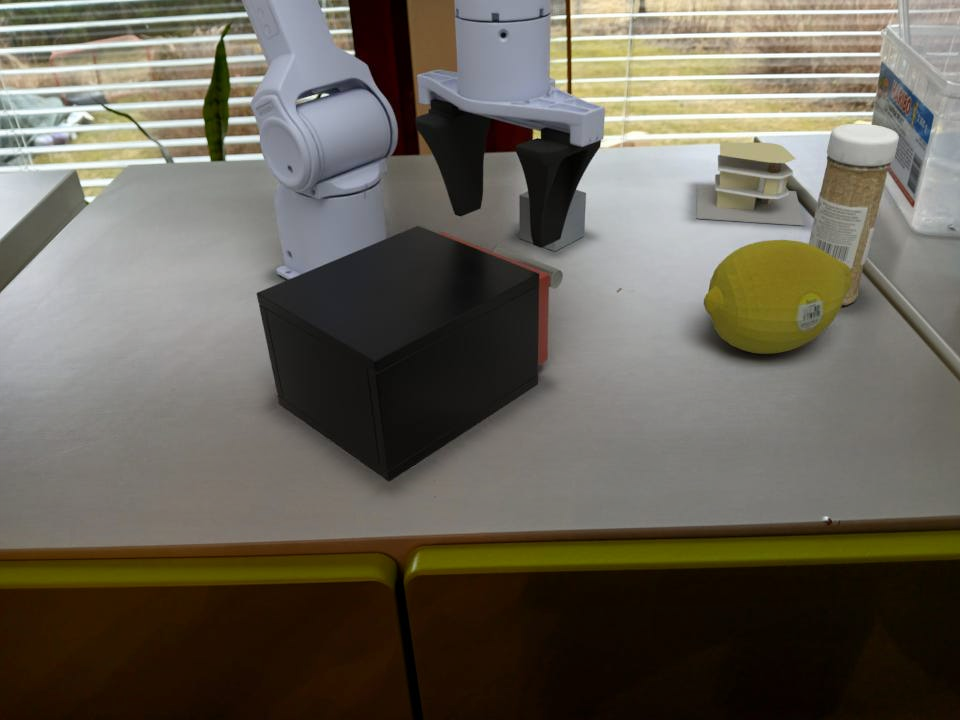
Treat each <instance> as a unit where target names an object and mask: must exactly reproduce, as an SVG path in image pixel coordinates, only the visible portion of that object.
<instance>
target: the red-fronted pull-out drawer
mask: <svg viewBox="0 0 960 720" xmlns="http://www.w3.org/2000/svg"><path fill="white" fill-rule="evenodd" d="M437 233H438V234H441V235H443V236H446V237H448V238H451V239H453V240H456V241H458V242H461V243H463V244H466V245H468V246H471V247H473V248H476V249H479V250H481V251H484V252H486V253H489V254H491V255H494V256H496V257H499V258H501V259H504V260H506V261H509V262H511V263H514V264H516V265H519V266H521V267H524V268H527V269H529V270H532V271H534V272H537V273H539V274H540V280H539V343H538V366H539V365H542V364H543V363H545V362H546V361H547V360H548V351H549V350H548V349H549V348H548V347H549V310H550V309H549V304H550V288H551V289H557V288H558V287H559V286H560V285H561V283H562V281H563V277H564V275H563V271H562V270H561V269H559V268H556V267H553V266H552V265H551V266H550V265H547V264H545V263H543V262H540V261H537V260H535V259H532V258H530V257H528V256H524V255H522V254H519V253H517V252H514V251H511V250H509V249H506V248H505V247H501V246H496V247H494V248H493V249H492V251H491V250H489V249H486V248H483V247H481V246H478V245H476V244H474V243H471V242H469V241H466V240H463V239H461V238H458V237H456V236H453V235H451V234H447V233H445V232H443V231H440V232H437Z"/></svg>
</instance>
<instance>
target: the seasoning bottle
mask: <svg viewBox="0 0 960 720" xmlns="http://www.w3.org/2000/svg"><path fill="white" fill-rule="evenodd" d="M899 140H900V137H899V134H898V133H897V132H896V131H895V130H894V129H891V128H888V127H885V126H881V125H876V124H870V123H847V124H845V123H844V124H841V125H837V126H836V127H834V128H833V129H832V130H831V132H830V136H829V139H828V145H827V149H826V154H827V155H826V166H825V170H824V174H823V179H822V184H821V188H820V192H819V194H818V199H817V203H816V208H815V213H814V217H813V222H812V226H811V231H810V235H809V240H808V244H810V245H813V246H815V247H817V248H819V249H821V250H823V251H824V252H826V253H828V254H829V255H831V256H832V257H834V258H835V259H837V260H839V261H841V262H843V263H845V264H846V265H847V266H848V267H849V268H850V271H851V278H852V281H851V287H850V289H849V291H848V292H847V294H846V295H845V297H844V299H843V302H842V306H849V305H850V304H853V303H854V302H855V301H856V299H858V296H859V286H860V282H861V277H862V275H863V271H864V267H865V264H866V262H867V259H868V255H869V252H870V247H871V245H872V239H873V235H874V232H875V224H876V221H877V216H878V212H879V209H880V203H881V200H882V196H883V192H884V189H885V184H886V180H887V174H888V173H889V169H890V167H891V165H892V162H893V161H894V159H895V157H896V153H897V148H898V145H899Z"/></svg>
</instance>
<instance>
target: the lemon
mask: <svg viewBox="0 0 960 720" xmlns="http://www.w3.org/2000/svg"><path fill="white" fill-rule="evenodd" d="M851 281H852V278H851V271H850V268H849V267H848V266H847V265H846V264H845V263H843V262H841V261H839V260H837V259H835V258H834V257H832V256H831V255H829V254H828V253H826V252H824V251H823V250H821V249H819V248H817V247H815V246H813V245H810V244H809V243H806V242H802V241H797V240H792V239H791V240H790V239H789V240H788V239H771V240H770V239H769V240H762V241H756V242H754V243H749V244H747V245H744V246H741V247H739V248H738V249H736V250H734V251H732V252H731V253H730V254H728V255H727V256H726V257H725V258H724V259H723V260H722V261H721V262H720V263H719V264H718V265H717V267H715V269H714V271H713V274H712V277H711V278H710V280H709V286H708V292H707V293H706V294H705V296H704V298H703V307H704V309H705V311H706V313H707V314H708V315H709V317H710V319H711V320H710V321H711V322H712V325H713V327H714V330H715V331H716V333H717V334H718V336H719V337H720V338H721V339H722V340H723V341H725V342H726V343H728V344H729V345H730V346H732V347H735V348H737V349H739V350H742V351H745V352H748V353H752V354H761V355H762V354H763V355H766V354H767V355H768V354H769V355H770V354H778V353H785V352H788V351H793V350H795V349H798V348H799V347H800V348H801V347H802V346H805V345H806V344H808V343H810V342H811V341H812V340H814V339H815V338H817V337H818V336H819V335H820V334H822V333H823V332H824V331H825V330H826V329H827V328H828V327H829V326H830V325H831V323H832V322H833V321H834V320H835V318H836V317H837V315H838V314H839V312H840V311H841V309H842V307H843V305H842V302H843V299H844V297H845V295H846V294H847V292H848V291H849V289H850V287H851Z"/></svg>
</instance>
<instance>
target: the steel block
mask: <svg viewBox="0 0 960 720" xmlns="http://www.w3.org/2000/svg"><path fill="white" fill-rule="evenodd" d="M518 200H519V203H518V204H519V205H518V207H519V209H518V210H519V213H518V214H519V215H518V216H519V217H518V218H519V219H518V220H519V225H518V226H519V233H518V234H519V239H520V240H523V241H526V242H528V243H531V244H533V241H532V237H531V230H530V204H529V195H528V190H527V191H526V192H523V193H521V194H519V199H518ZM586 205H587V192H586V191H582V190H579V189H576V191H575V193H574V196H573V199H572V201H571V204H570V207H569V210H568V213H567V217H566V220H565V224H564V227H563V231H562V235H561V239H559V240H557V241H555V242H553V243H551V244H549V245H547V246H545V247H543V248H544V249H548V250H549V251H553V252H557V251H559V250H561V249H562V248H564V247H566V246H568V245H570V244H572V243H574V242H576V241H578V240H580V239H581V238H584V237H585V227H586V226H585V225H586V207H587V206H586Z"/></svg>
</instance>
